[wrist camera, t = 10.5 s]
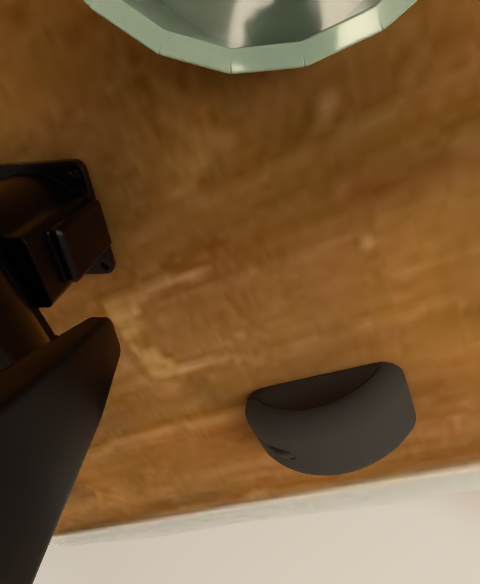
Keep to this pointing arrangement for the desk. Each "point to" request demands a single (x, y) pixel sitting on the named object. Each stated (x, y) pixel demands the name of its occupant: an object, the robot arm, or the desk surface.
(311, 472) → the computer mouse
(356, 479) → the desk surface
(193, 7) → the pen pot
